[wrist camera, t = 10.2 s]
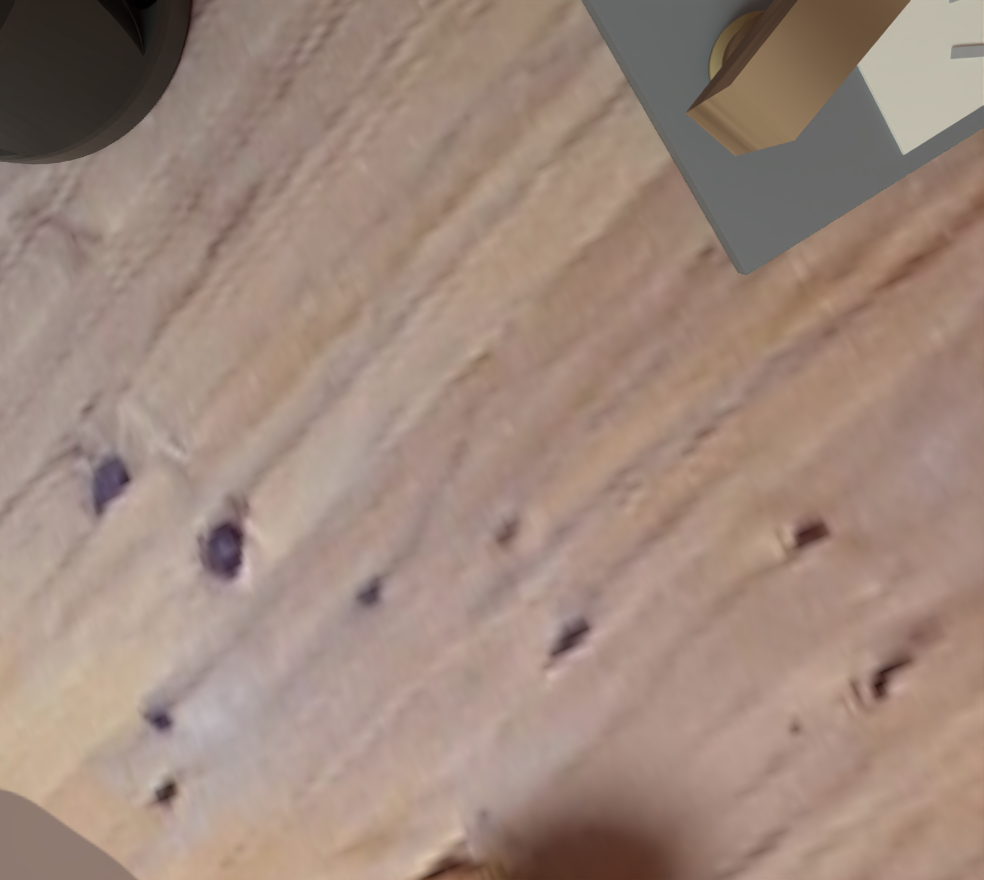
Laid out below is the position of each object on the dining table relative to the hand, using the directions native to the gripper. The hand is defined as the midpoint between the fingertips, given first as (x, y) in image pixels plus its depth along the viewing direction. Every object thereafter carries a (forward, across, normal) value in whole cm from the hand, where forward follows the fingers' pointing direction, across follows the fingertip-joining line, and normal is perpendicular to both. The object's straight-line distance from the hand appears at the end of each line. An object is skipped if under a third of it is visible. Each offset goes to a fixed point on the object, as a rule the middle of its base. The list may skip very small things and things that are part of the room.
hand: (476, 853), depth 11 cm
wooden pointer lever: (+27, +8, +18) cm, 33 cm away
